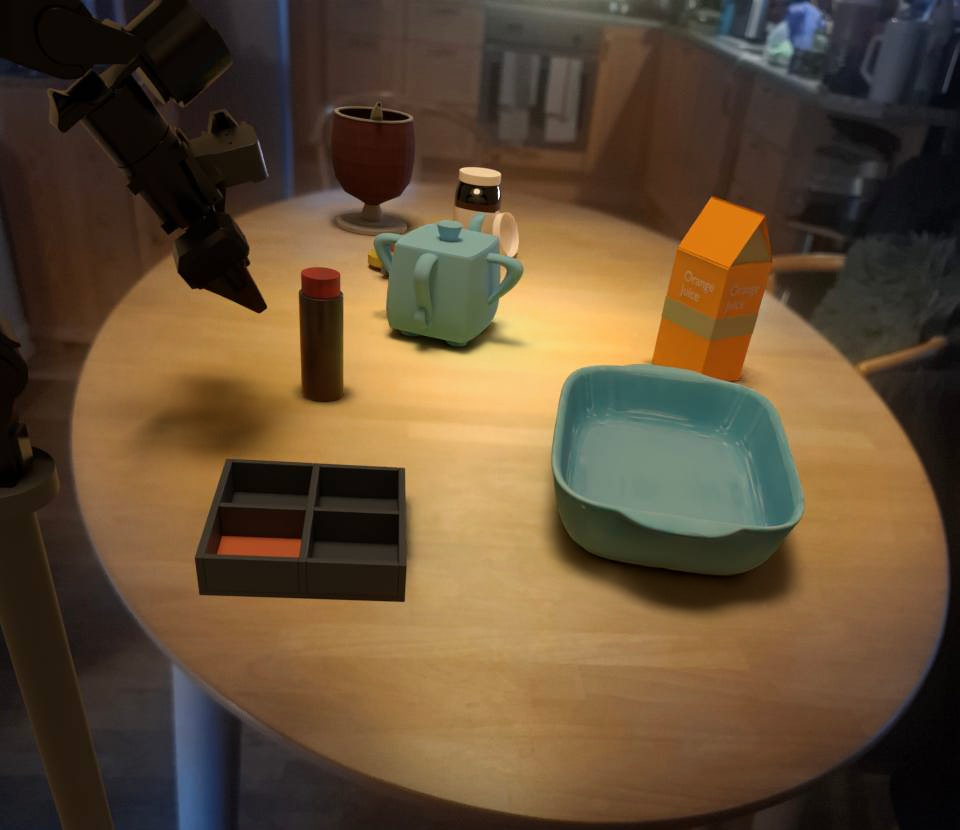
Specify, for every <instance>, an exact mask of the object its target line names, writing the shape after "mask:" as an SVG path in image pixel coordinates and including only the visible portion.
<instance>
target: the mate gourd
mask: <svg viewBox="0 0 960 830" xmlns="http://www.w3.org/2000/svg"><path fill="white" fill-rule="evenodd" d="M382 106H383V103H382V102H381V101H377V102H376V103H375V105H374V106H360V105H359V106H357V105H356V106H353V105H351V106H340V107H336V108H334V115H333V118H332V119H333V120H332V126H331V133H330V134H331V136H330V154H331V162H332V169H333V172H334V173H333V174H334V177H335V179H336V180H337V182H338V184H339V185H340V186H341V188H342V190H343V191H344V192H345V193H346V194H348V195H349V196H352V197H353V198H356V199H357V200H359V201H360V202H362V203H364V205H363V207H362V210H361V212H360V211H358V212H356V211H355V212H346V213H343V214H340V215H338V216H336V219H335V221H336V223H335V224H336V226H337V227H338V228H340V229H342V230H345V231H346V232H349V233H354V234H359V235H365V236H374V237H376V236H377V235H379V234H382V233H392V234H399V235H401V234H403V233H405V232H406V231H407V230H408V223H407V221H405V220H404V219H401V218H400V217H396V216H393V215H390V214H384V213H383V212H382V211H383V210H382V208H381V205H382V204H383V203H386V202H389V201H392V200H394V199H396V198H399V197H401V196H402V194H403V193H404V191H405V190H406V189H407V187H408V186H409V185H410V183H411V180H412V176H413V171H414V167H415V166H414V165H415V160H416V159H415V157H416V136H415V134H416V133H415V125H414V117H413V115H412V114H409V113H406V112H403V111H399V110H394V109H390V108H389V109H388V108H383V107H382Z"/></svg>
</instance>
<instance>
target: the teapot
mask: <svg viewBox="0 0 960 830" xmlns="http://www.w3.org/2000/svg"><path fill="white" fill-rule="evenodd" d="M484 218H485V214H484V213H477V214H475V215H474V216H473V217H472V218H471V220H470V223H469V225H468V228H467V230H465V229H462V226H463V225H462V224H461V223H459V222H456V221H453V220H450V219H443V220H439V221H437V222H436V223H427V224H423V225H421V226H419V227H416V228H414V229H412V230H411V231H409V232H408V233H406V234H404V235H403V234H392V233H382V234H379V235H377V236H374V239H373V250H374V249H375V252H376V254H377V256H378V258H379V260H380V262H381V263H382V265H383V266H384V268H385V269H386V271H387V272H388V273H389V275H388V280H387V281H388V282H387V290H386V301H385V302H386V303H385V304H386V305H385V313H386V319H387V323H388V327H389V328H390V329H391V328H392V329H394V330H399V331H400V332H401V334H402V335H404V336H406V337H407V336H408V337H418V336H426V337H430V338H433V339H439V340H442V341H443V340H444V341H446V343H447V345H449V346H453V347H464V346H467V345H468V342H470V341H471V340H473V339H474V338H476V337H477V336H479V335H481V333H483V332H484V331H485V330H486V329H487V328H488V326H489V325H490V324H491V323H492V321H494V319H495V317H496V314H497V311H498V309H499V304H500V299H501V298H502V297H504V296H505V295H506V294H508V293H509V292H510V291H511V290H512V289H513V288H515V287H516V286H517V284H518V283H520V280H521V279H522V277H523V275H524V271H525V270H524V269H525V268H524V265H523V263H522V262H521V261H520V260H519V259H517V258H515V257H509V256H505V255H501V254H500V245H499V238H498V237H497V236H495V235H490V234H485V233H481V228H482V223H483V221H484ZM391 244H395V248H394V253H393V257H392V254H391V251H390V245H391ZM501 267H504V268H505V270H506V273H505V276H504V277H503V279H502V281H501V276H502V275H501Z"/></svg>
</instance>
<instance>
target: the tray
mask: <svg viewBox="0 0 960 830" xmlns="http://www.w3.org/2000/svg"><path fill="white" fill-rule="evenodd" d="M221 470H222V471H221V474H220V475H219V480H218V483H217V487H216V488H215V489H216V490H215V492H214V496H213V499H212V502H211V505H210V508H209V512H208V514H207V517H206V521H205V524H204V526H203V530H202V534H201V537H200V540H199V543H198V546H197V549H196V551H195V555H194V565H195V572H196V573H195V574H196V580H197V587H198V588H197V589H198V595H199V596H211V597H238V598H239V597H242V598H243V597H244V598H271V599H298V600H299V599H302V600H304V599H305V600H331V601H332V600H333V601H361V602H362V601H363V602H387V603H389V602H391V603H405V602H406V589H407V588H406V587H407V568H408V561H407V560H408V558H407V557H408V556H407V554H408V553H407V552H408V551H407V550H408V549H407V500H406V497H407V495H406V494H407V493H406V492H407V490H406V488H407V487H406V468H405V467H397V466H396V467H395V466H379V465H378V466H377V465H361V464H360V465H359V464H341V463H323V462H322V463H320V462H319V463H318V462H301V461H283V460H264V459H263V460H262V459H245V458H244V459H242V458H225V461H224V463H223V468H222V469H221Z"/></svg>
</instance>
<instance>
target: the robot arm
mask: <svg viewBox="0 0 960 830" xmlns="http://www.w3.org/2000/svg"><path fill="white" fill-rule="evenodd" d="M0 59H2V60H5V61H7V62H10V63H12V64H15V65H17V66H21V67H23V68H27V69H30V70H32V71H36V72H38V73H41V74H44V75H47V76H49V77H53V78H56V79H59V80H64V81H65V80H66V81H70V80H71V81H72V80H75V82H73V83H72V84H71V85H70V86H69V87H68V88H67V89H66V90H59V89H55V88H52V87H49V88H47V89H46V93H47V97H48V101H49V109H48V110H49V111H48V112H49V113H48V122H49V123H50V124H51V125H52V126H53V127H54V128H55V129H56V130H58V131H59V132H61V133H62V134H67V133H68V132H69V131H70V130H71V129H72V128H73V127H75V125H77V124H78V123H80V124H81V125H82V126H83V128H84V129H85V130H86V131H87V132H88V134H89V135H90V136H91V137H92V138H93V140H94V141H95V142H96V143H97V144H98V146H99V147H100V148H101V150H102V151H103V152H104V153H105V154H106V155H107V156H108V158H109V159H110V160H111V161H112V162H113V164H114V165H115V166H116V167H117V169H118V170H119V171H120V172H121V174H122V175H123V176H124V181H125V184H126V187H127V188H128V189H129V190H130V192H131V193H132V194H133V195H134V196H137V195H138V194H139V195H140V196H141V198H142V199H143V200H144V201H145V202H146V204H147V205H148V206H149V207H150V209H151V210H152V211H153V212H154V213H155V215H156V216H157V217H158V219H157V220H158V222H159V226H160V227H161V229H162V230H163V231H164V232H165V233H166V235H167V236H169V235H171V234H173V233H174V232H175V231H176V230H178V229H179V228H180V229H181V230H183V231H185V232H184V233H182V234H181V235H180V236H178V237H176V239H174V240H173V247H172V248H173V250H172V257H173V261H174V264H175V269H176V271H177V274H178V275H179V276H180V277H181V278H182V280H183V281H184V282H185V283H186V284H187V286H189V288H190V289H191V290H199V291H202V290H205V291H208V292H210V293H213V294H215V295H216V296H217V295H218V296H220V297H222V298H225V299H227V300H229V301H230V302H232V303H235V304H237V305H239V306H242V307H243V308H246V309H248V310H250V311H251V312H254V313H255V314H259V315H260V314H262V313H263V312H265V311H266V310H267V309H268V305H267V303H266V300H265V299H264V297H263V295H262V292H261V291H260V289H259V287H258V285H257V284H256V281H255V280H254V278H253V276H252V274H251V272H250V270H249V268H248V267H249V266H251V260H250V259H249V255H250V250H251V249H250V245H249V243H248V240H247V238H246V235H245V234H244V232H243V231H242V229H241V228H240V225H238V222H236V220H235V219H234V217H232V215H231V214H230V213H227V212H226V200H227V189H228V188H232V187H237V186H239V185H244V184H248V183H251V182H252V183H254V184H257V183H260V182H263V181H265V180H267V179H268V177H269V173H268V169H267V165H266V161H265V158H264V153H263V151H262V147H261V143H260V140H259V137H258V135H257V134H256V131H255V129H254V127H253V126H252V125H251V124H247V123H246V121H245V120H244V121H240V124H238V122H237V121H236V119H234V117H233V116H232V114H230V113H229V112H228V109H226V108H222V109H217V110H214V111H210V112H209V116H208V124H207V131H206V130H203V131H201V135H200V136H198V137H195V138H192V139H189V138H188V137H187V136H186V135H185V132H183V131H182V129H181V128H180V127H178V128H176V127H175V125H174V124H173V125H172V126H171V125H170V124H169V123H168V121H167V120H166V118H165V117H164V115H163V114H162V113H161V111H159V109H158V107H156V105H155V104H154V102H153V101H152V100H151V98H150V96H148V94H147V93H146V92H145V90H144V89H143V87H142V86H141V85H140V83H139V82H138V81H137V80H136V78H135V77H134V75H133V74H134V72H136V73H137V75H138V76H139V78H140V79H141V80H142V82H143V83H144V84H145V86H146V87H147V88H148V90H149V91H150V92H151V93H152V94H153V95H154V97H155V98H156V99H157V100H158V101H159V102H160V103H161V104H163V105H164V106H167V105H168V104H169V103H170V102H171V100H172V101H173V102H174V103H175V104H176V105H178V106H179V107H181V108H182V109H185V108H186V107H187V106H188V105H189V104H191V103H192V102H193V101H194V100H195V99H196V98H197V97H198V96H199V95H201V93H203V92H204V91H205V90H206V89H207V88H208V87H210V86H211V85H212V84H213V83H214V82H215V81H216V80H217V79H218V78H219V77H221V76H222V75H223V74H224V73H225V72H226V71H227V70H229V68H231V66H233V65H234V59H233V56H232V54H231V52H230V50H229V48H228V46H227V44H226V42H225V41H224V39H223V38H222V36H221V34H220V33H219V31H218V29H217V28H216V27H215V26H214V25H211V24H210V23H209V22H208V20H207V19H206V18H205V16H204V15H203V14H202V12H201V11H200V10H199V9H198V8H197V7H196V6H195V5H194V4H193V3H192V2H191V1H190V0H153V1H152V2H151V3H150V4H149V5H148V6H147V7H145V9H144V10H142V11H141V12H140V13H139V14H138V15H137V16H135V17H134V18H133V19H132V20H131V21H130V22H128V24H127V25H126V26H123V25H122V24H120V23H118V22H115V21H113V20H111V19H109V18H104V20H100V19H99V18H96V17H94V16H93V14H92V13H91V11H90V10H89V9H88V8H87V6H86V5H85V4H84V3H83V1H82V0H0ZM95 65H100V66H101V65H111V66H110V67H108V68H107V69H106V70H104V71H103V72H101V73H100V74H98V73H97V72H95V71H94V69H92V68H93V67H94V66H95ZM20 348H22V344H21V342H20V340H19V338H18V336H17V335H16V334H15V332H14V330H13V328H12V326H11V325H10V324H9V321H8V320H7V318H5V317H3V316H1V315H0V488H14V487H16V486H17V484H18V483H19V481H20V480H21V478H22V477H23V476H24V474H25V473H26V471H27V470H28V468H29V467H30V465H31V464H32V462H33V461H34V459H35V457H36V456H35V453H34V452H32V449H31V446H32V445H31V442H30V437H29V433H28V429H27V423H25V421H24V420H20V419H19V414H18V411H17V406H16V404H15V399H17V398H19V397H20V396H21V394H22V393H23V392H24V391H25V390H26V387H27V384H28V381H29V367H28V365H27V362H26V360H25V359H24V357H23V355H22V353H21V351H20V350H19V349H20Z"/></svg>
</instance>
